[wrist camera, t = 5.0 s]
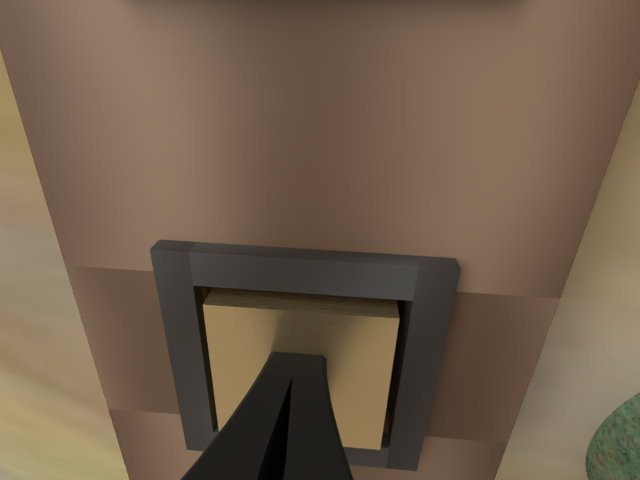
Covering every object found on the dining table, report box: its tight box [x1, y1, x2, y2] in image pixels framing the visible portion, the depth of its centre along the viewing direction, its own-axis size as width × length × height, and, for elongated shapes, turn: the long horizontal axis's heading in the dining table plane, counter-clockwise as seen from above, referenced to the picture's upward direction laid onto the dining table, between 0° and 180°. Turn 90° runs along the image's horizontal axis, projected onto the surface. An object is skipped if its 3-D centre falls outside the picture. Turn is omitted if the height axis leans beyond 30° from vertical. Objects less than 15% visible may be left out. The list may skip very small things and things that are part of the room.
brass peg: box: [203, 287, 399, 450], centre depth 12 cm, size 4×4×4 cm
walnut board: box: [0, 0, 640, 480], centre depth 10 cm, size 12×26×4 cm, turn 178°
